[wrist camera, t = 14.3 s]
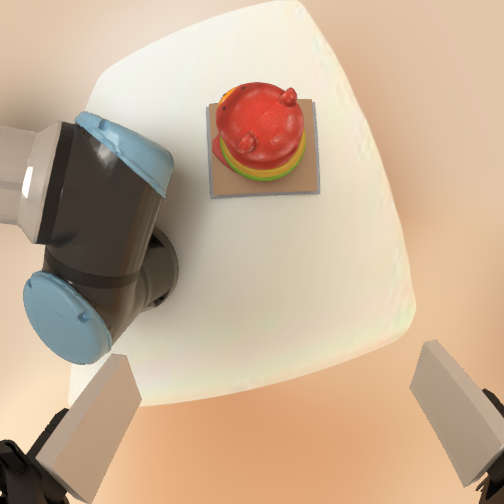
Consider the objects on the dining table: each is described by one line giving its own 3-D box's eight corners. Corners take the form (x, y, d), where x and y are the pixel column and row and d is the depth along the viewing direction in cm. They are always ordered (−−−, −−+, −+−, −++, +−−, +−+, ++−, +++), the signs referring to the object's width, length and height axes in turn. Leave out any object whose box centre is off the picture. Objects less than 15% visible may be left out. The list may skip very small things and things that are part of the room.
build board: (212, 197, 41) (206, 199, 37) (207, 109, 38) (201, 101, 34) (318, 193, 40) (324, 194, 36) (313, 104, 37) (318, 96, 33)
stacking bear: (263, 94, 33) (263, 29, 16) (316, 145, 35) (360, 117, 17) (206, 147, 35) (159, 120, 18) (258, 199, 37) (254, 215, 19)
